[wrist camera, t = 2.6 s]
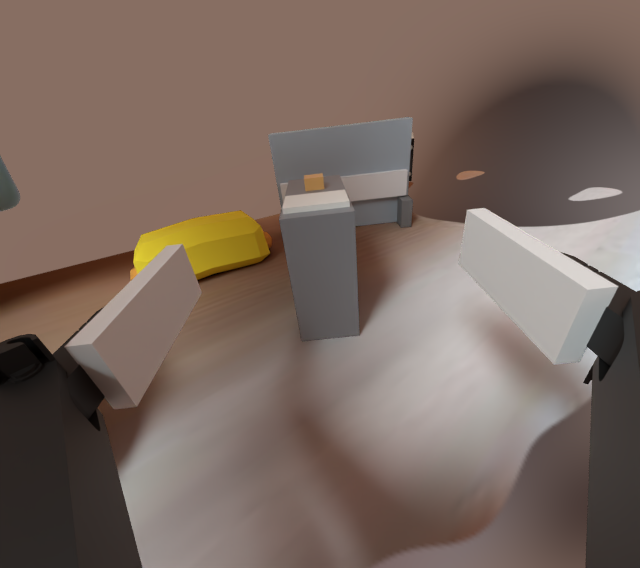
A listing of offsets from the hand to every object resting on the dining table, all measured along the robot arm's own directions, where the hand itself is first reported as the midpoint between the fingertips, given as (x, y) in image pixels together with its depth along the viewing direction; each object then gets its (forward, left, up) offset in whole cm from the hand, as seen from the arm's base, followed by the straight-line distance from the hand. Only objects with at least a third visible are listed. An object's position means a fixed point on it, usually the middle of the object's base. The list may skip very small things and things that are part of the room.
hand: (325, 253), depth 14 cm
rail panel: (+4, +30, -11) cm, 33 cm away
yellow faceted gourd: (-15, +22, -12) cm, 29 cm away
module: (0, +12, -11) cm, 16 cm away
